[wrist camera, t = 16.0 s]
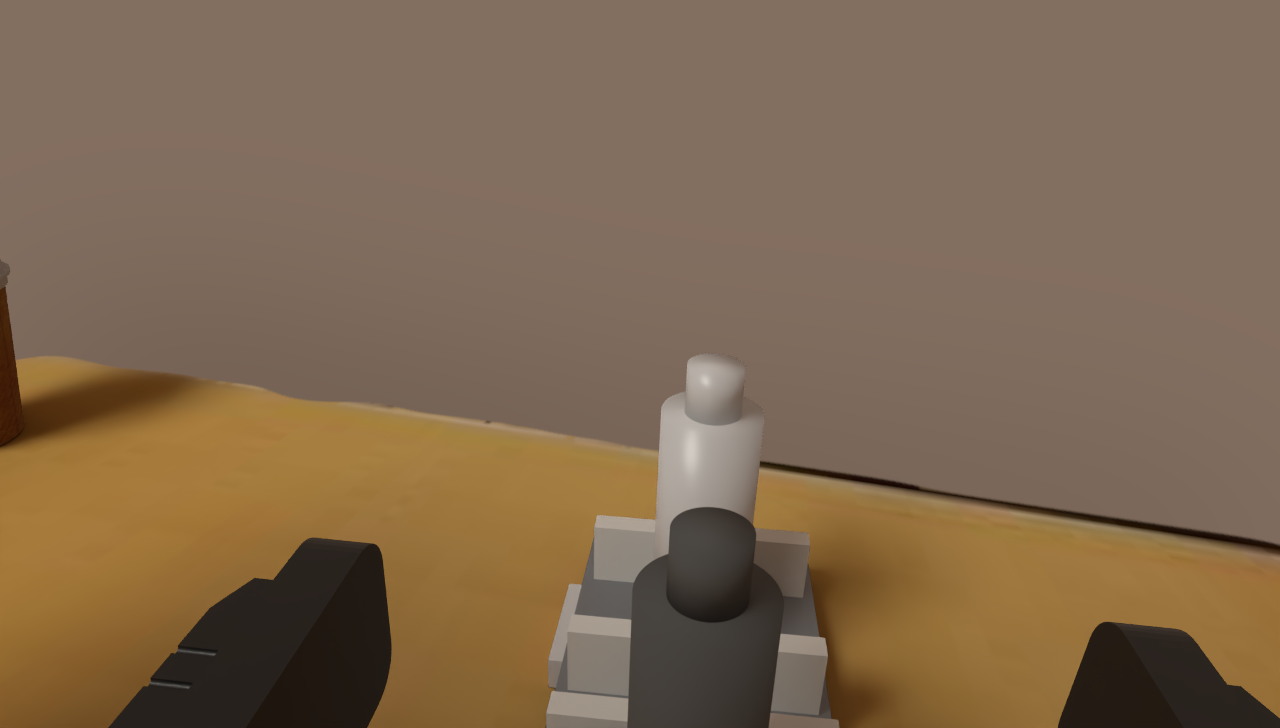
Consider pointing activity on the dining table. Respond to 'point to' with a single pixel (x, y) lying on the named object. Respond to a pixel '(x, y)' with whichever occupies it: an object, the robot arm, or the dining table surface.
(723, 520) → the dark grey bottle
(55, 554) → the dining table surface
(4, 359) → the disposable coffee cup
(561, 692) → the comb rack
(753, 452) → the white bottle
